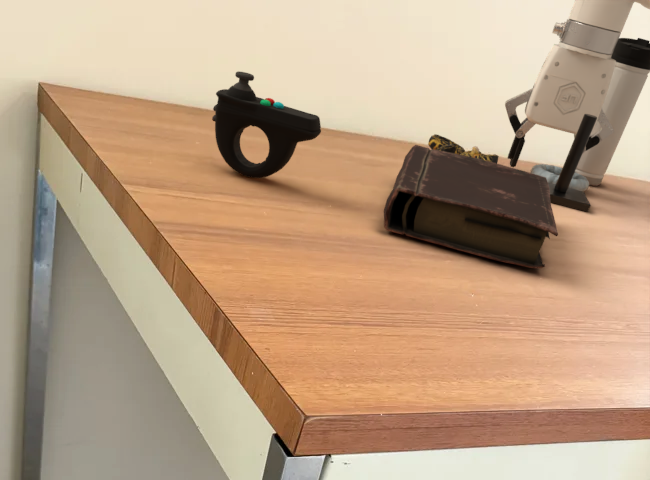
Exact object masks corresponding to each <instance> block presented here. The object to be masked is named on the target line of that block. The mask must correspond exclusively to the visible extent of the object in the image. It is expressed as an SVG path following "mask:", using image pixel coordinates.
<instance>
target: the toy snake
mask: <svg viewBox="0 0 650 480" xmlns="http://www.w3.org/2000/svg"><path fill="white" fill-rule="evenodd" d="M427 145H428V146H429V147H428V148H429V149H430V150H431V149H434V150H439V151H445V152H450V153H454V154H459V155H464V156H468V157H473V158H478V159H482V160H486V161H489V162H493V163H497V164H498V162H499V155H498V154H485V153H482V152H481V151H480V149H479V147H478V146H476V145H475V146H473V147H472V148H471V150H467V151H466V150H465V149H464V147H463V146H461V145H459V143H456V142H454V141H453V140H451V139H449V138H447V137H445V136H442V135H439V134H436V133H434V134H433V135H431V136H430V137H429V139H428V142H427Z"/></svg>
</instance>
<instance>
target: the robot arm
mask: <svg viewBox="0 0 650 480" xmlns="http://www.w3.org/2000/svg"><path fill="white" fill-rule="evenodd" d="M634 3H636V4H640V5H641V6H642V7H644V8H645V9H648V10H650V0H574V2H573V5H572V8H571V10H570V12H569V16H568V18H567V19H566V21H564V22H555V24H554V25H553V29H552V32H551V33H552V34H554V35H556V36H558V38H559V41H558V44H557V43H554V44H553V46H552V47H551V48H550V51H549V52H548V54H547V56H546V58H545V60H544V62H543V64H542V66H541V68H540V70H539V72H538V74H537V77H536V79H535V82H534V84H533V86H532V88H530V89H528V90H525V91H524V92H522V93H519V94H517V95H516V96H513V97H511V98H509V99H507V100H506V101H505V102H504V108H505V110H506V114H507V117H508V120H509V124H510V126H511V128H512V130H513V132H514V134H515V135H514V138H513V141H512V143H511V146H510V149H509V152H508V154H507V159H508V160H509V167H511V168H515V167H516V166H517V164H518V161H519V158H520V156H521V154H522V151H523V148H524V145H525V143H526V139H525V138H526V134H527V133H528V132H529V131H530V130H531V129H532V128H533V127H534V126H535V125H539V126H542V127H545V128H550V129H554V130H558V131H561V132H565V133H568V134H573V140H574V139H575V136H576V134H577V131H578V129H579V126H580V124H581V121H582V119H583V116H584V114H590V115H593V116H596V117H597V120H596V122H597V121H598V123H599V125H600V127H601V128H600V130H599V131H598V132H597V133H596V134H594V135H592V136H590V137H589V139H588V142H587V144H586V146H585V149H584V151H583V153H584V152H585V151H587V150H589V149H590V148H592V147H594V146H596V145H597V144H598V143H599V142H601V141H602V140H604V139H605V138H607V137H608V136H609V135H611V134H612V133H613V131H614V130H613V127H612V126H611V124H610V122H609V120H608V119H607V117H606V115H605V113H604V111H603V110H602V106H603V103H604V100H605V98H606V95H607V92H608V89H609V86H610V82H611V79H612V75H613V72H614V68H615V63H616V60H614V59H611V56H612V54H613V51H614V49H615V47H616V44H617V42H618V39H619V38H621V34H622V32H623V30H624V28H625V24H626V23H627V20H628V17H629V15H630V12H631V10H632V8H633V5H634ZM525 103H526V104H525ZM523 104H525V108H524V114H525V117H524V118H525V119H523V120H522V121H521V122H520V119H519V117H518V113H517V107H519V106H521V105H523ZM596 122H595V124H596ZM594 127H595V125H594ZM594 127H593V129H594Z"/></svg>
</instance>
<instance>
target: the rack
mask: <svg viewBox="0 0 650 480" xmlns="http://www.w3.org/2000/svg"><path fill="white" fill-rule="evenodd" d="M596 120H597V117H596V116H593V115H590V114H584V116H583V119H582V121H581V124H580V126H579V129H578V131H577V134H576V136H575V139H574V138H573V142H572V144H571V146H570V149H569V151H568V154H567V156H566V159H565V160H564V164H563V166H562V167H561V168H562V171H561V173H560V175H559V178H558V180H557V183H556V184H553V183H549V182H548V186H549V190H550V200H551V204H556V205H559V206H562V207H566V208H570V209H574V210H578V211H582V212H586V213H588V212H589V211H590V208H591V206H592V205H591V203H590V201H589V198H588V197H587V195H586V193H585V191H579V190H576V189H572V188H568V187H569V185H570V182H571V180H572V178H573V175H574V173H575V170H576V168H577V166H578V163H579V161H580V158H581V156H582V154H583V151H584V149H585V146H586V144H587V142H588V139H589V137H590V134H591V132H592V130H593V127H594V125H595V122H596Z"/></svg>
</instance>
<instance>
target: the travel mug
mask: <svg viewBox="0 0 650 480" xmlns="http://www.w3.org/2000/svg"><path fill="white" fill-rule="evenodd" d="M611 59H614V60H616V63H615V68H614V72H613V75H612V79H611V82H610V86H609V89H608V92H607V95H606V98H605V100H604V103H603V106H602V110H603V111H604V113H605V115H606V117H607V119H608V120H609V122H610V124H611V126H612V127H613V130H614V131H613V133H612V134H611V135H609V136H608V137H607V138H605V139H604V140H602V141H601V142H599V143H598V144H597V145H596V146H594V147H592V148H590V149H589V150H587V151H585V152H584V153H583V154H582V156H581V158H580V161H579V163H578V166H577V168H576V170H575V172H576V173H578V174H580V175H582V176H584V177H586V179H587V180H588V182H589V186H593V187H597V186H600V185H601V184H602V181H603V180H604V177H605V174H606V172H607V170H608V168H609V166H610V164H611V161H612V159H613V156H614V154H615V152H616V150H617V148H618V145H619V143H620V140H621V138H622V136H623V134H624V132H625V128H626V127H627V124H628V122H629V120H630V118H631V115H632V114H633V111H634V109H635V107H636V104H637V102H638V100H639V97H640V96H641V93H642V90H643V89H644V86H645V84H646V81H647V79H648V77H649V74H650V40H648V39H644V38H641V37H638V38H636V39H635V38H629V37H619V39H618V42H617V44H616V47H615V49H614V51H613V54H612V56H611ZM600 128H601V127H600V125H599V123H598V121H597V122H596V124H595V127H594V129H593V130H592V132H591V134H590V136H592V135H594V134H596V133H597V132H598V131H599V130H600Z"/></svg>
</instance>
